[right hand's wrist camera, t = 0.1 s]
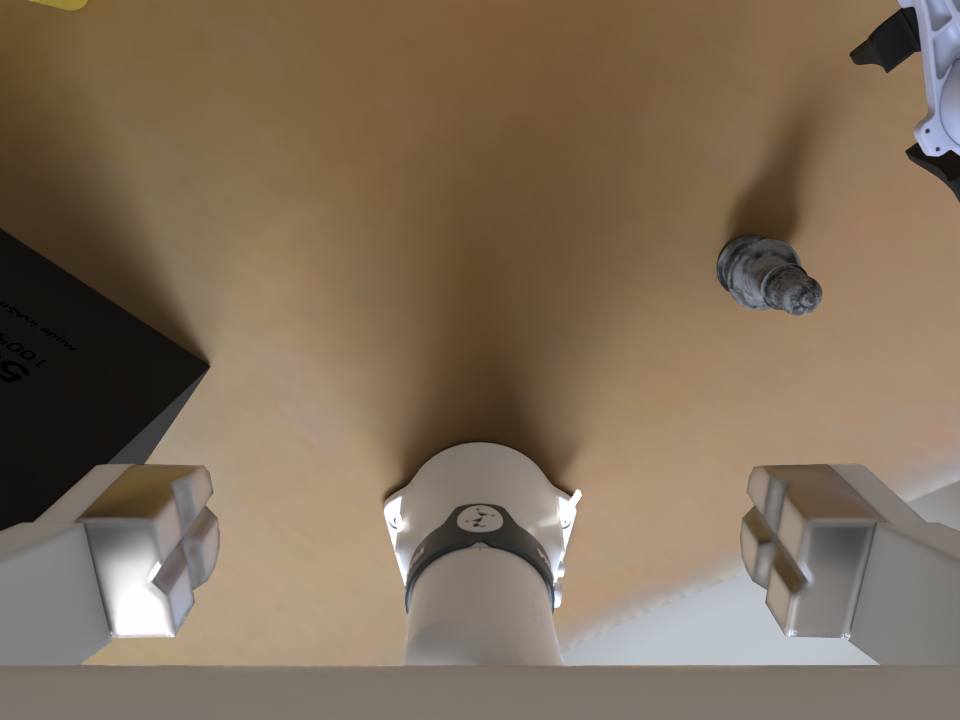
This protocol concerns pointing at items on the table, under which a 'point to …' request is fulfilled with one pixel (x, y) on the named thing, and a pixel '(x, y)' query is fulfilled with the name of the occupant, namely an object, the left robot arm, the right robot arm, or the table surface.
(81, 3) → the yellow cylinder
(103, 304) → the cardboard box
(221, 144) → the table surface
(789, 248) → the grey chess piece
